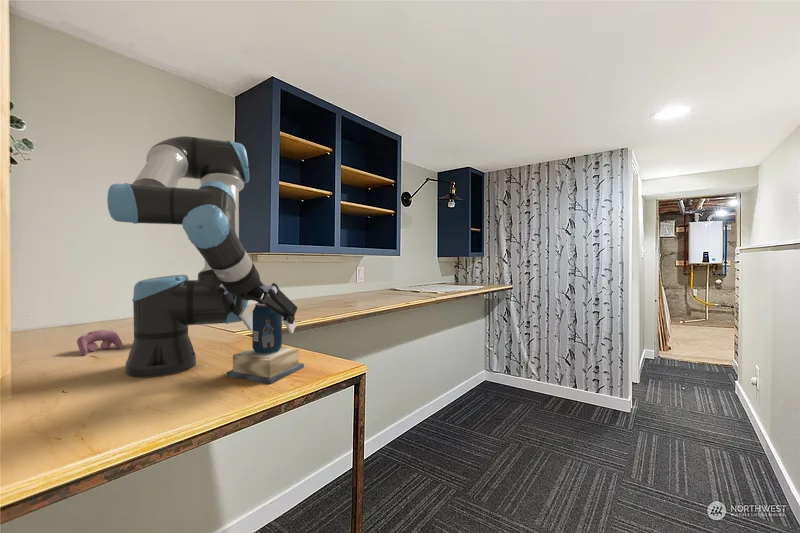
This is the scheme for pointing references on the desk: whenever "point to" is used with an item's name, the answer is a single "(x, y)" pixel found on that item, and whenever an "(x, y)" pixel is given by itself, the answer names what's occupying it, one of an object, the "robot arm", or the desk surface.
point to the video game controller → (101, 335)
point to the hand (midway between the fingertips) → (272, 327)
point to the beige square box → (265, 365)
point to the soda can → (266, 330)
